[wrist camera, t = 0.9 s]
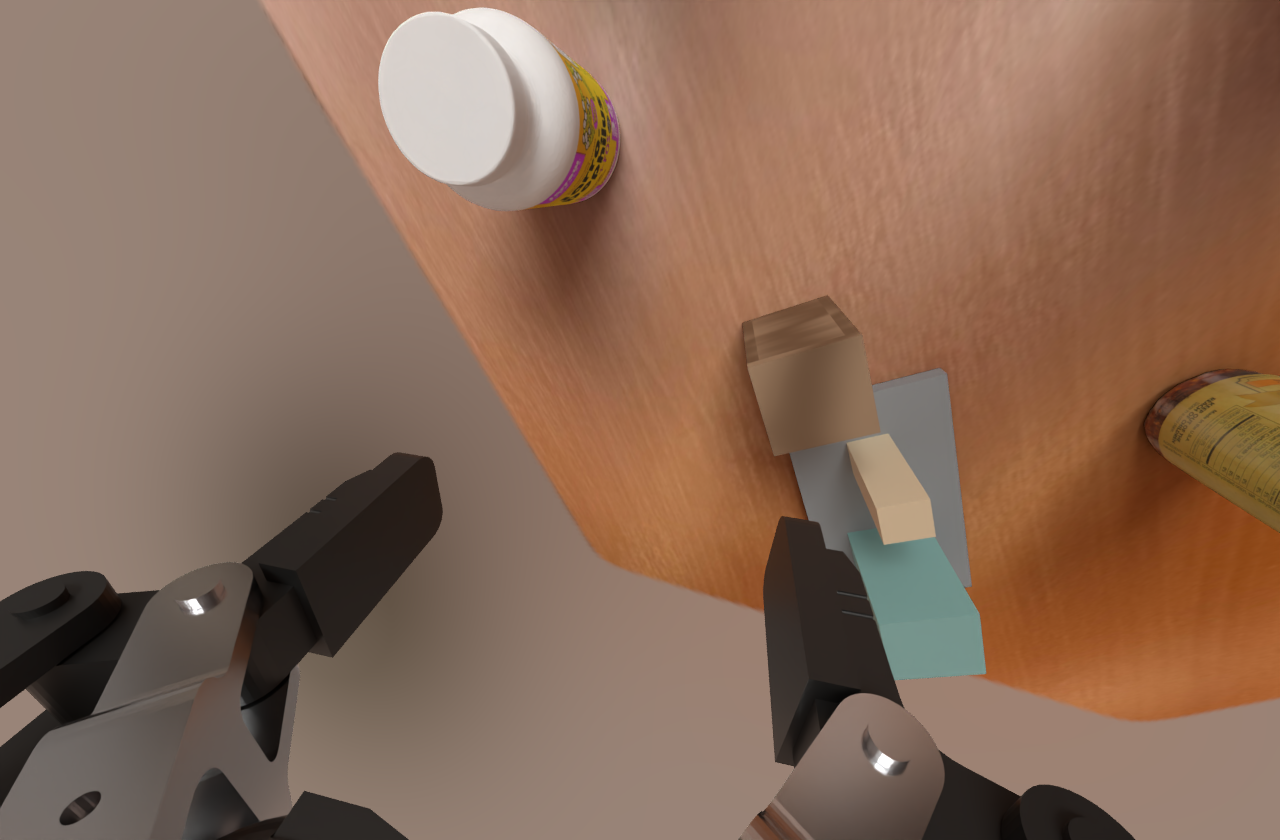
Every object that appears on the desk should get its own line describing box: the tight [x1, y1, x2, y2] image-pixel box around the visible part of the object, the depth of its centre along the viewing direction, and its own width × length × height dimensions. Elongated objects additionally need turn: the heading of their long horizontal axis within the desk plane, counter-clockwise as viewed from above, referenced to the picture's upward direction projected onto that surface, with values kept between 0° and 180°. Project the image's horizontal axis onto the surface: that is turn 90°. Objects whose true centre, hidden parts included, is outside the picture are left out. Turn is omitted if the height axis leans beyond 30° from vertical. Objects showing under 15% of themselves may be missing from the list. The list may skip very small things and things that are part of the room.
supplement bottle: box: [378, 8, 620, 211], centre depth 20 cm, size 7×7×13 cm
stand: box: [790, 368, 986, 680], centre depth 29 cm, size 10×18×9 cm, turn 21°
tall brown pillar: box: [742, 295, 881, 456], centre depth 26 cm, size 5×5×8 cm
